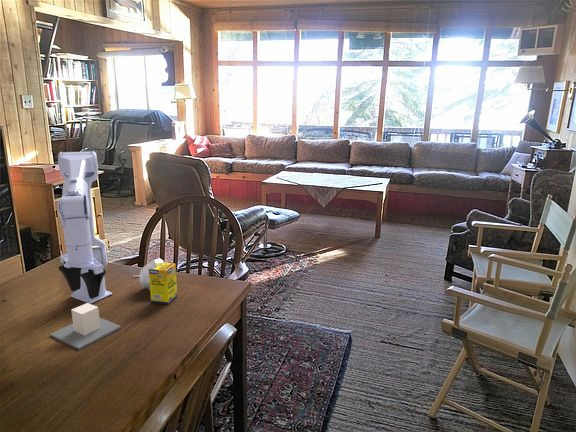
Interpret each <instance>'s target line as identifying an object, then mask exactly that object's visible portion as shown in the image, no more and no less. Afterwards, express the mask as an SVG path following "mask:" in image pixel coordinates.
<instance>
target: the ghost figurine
mask: <svg viewBox="0 0 576 432" xmlns="http://www.w3.org/2000/svg"><path fill="white" fill-rule="evenodd" d="M158 262H164V263H166V262H165V261H164V260H163V259H161V258H155V259H153V260H152V262H149V263H147V264H145V265H144V266H143V267H142V268H141V270H140V272H139V276H138V277H139V282H140V284H141V285H142V287H144V288H145V289H146V290H149V291H150V281H149V268H151V267H152V266H154V265H156V264H157V263H158Z"/></svg>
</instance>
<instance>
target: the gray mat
mask: <svg viewBox="0 0 576 432" xmlns="http://www.w3.org/2000/svg"><path fill="white" fill-rule="evenodd" d="M99 318H100V327H101V328H100V329H98V330H96V331H94V332H91V333H89V334H87V335H85V336H84V335H82V334H80V333H78V332H76V331H74V326H73V323H71V324H68V325H66V326H65V327H62V328H59V329H58V330H55V331H53V332H51V333H49V335H50V337H52V338H53V339H55V340H58V341H59V342H62V343H64V344H66V345H69V346H70V347H72V348H73V349H76V350H78V351H80V350H82V349H84V348H87V347H88V346H90V345H92V344H95V342H98V341H100V340H101V339H104V338H105V337H107V336H109V335H111V334H113V333H115V332H117V331H118V330H120V329H122V325H120V324H117V323H115V322H113V321H109V320H107V319H105V318H102V317H100V316H99Z"/></svg>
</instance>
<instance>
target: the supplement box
mask: <svg viewBox="0 0 576 432" xmlns="http://www.w3.org/2000/svg"><path fill="white" fill-rule="evenodd" d="M164 262H165V261H164ZM164 262H158V263H157V264H156V265H154V266H152V267H151V268H149V281H150V290H149V292H150V294H149V295H150V303H154V304H163V305H169V304H171V303H172V302H173V301H174V300H175V299H176V298H177V297H178V285H177V284H178V282H177V269H176V268H177V265H176V263H172V262H165V263H164Z"/></svg>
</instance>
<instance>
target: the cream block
mask: <svg viewBox="0 0 576 432" xmlns="http://www.w3.org/2000/svg"><path fill="white" fill-rule="evenodd" d="M71 317H72V324H73V326H74V331H76V332H78V333H80V334H82V335H84V336H85V335H87V334H89V333H91V332H94V331H96V330H98V329H100V328H101V327H100V318H101V317H100V310H99V307H98V306H97V305H94V304H93V303H91V304H89V303H86V302H85V303H84V304H81V305H80V306H79V305H78V306H77V307H74V308H72V309H71ZM99 317H100V318H99Z"/></svg>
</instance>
